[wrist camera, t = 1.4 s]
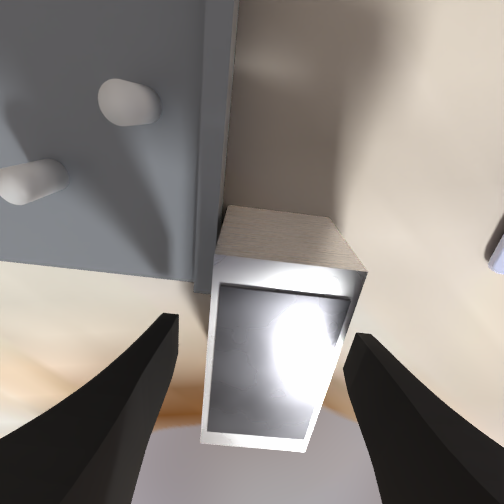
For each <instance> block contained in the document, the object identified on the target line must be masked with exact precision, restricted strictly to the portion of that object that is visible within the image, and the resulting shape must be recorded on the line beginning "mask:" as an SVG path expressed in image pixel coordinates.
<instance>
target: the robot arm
mask: <svg viewBox="0 0 504 504" xmlns="http://www.w3.org/2000/svg"><path fill="white" fill-rule="evenodd" d="M488 266H489V268H490V269H491V270H493V271H494V272H496V273H498V274H504V234H503V236H502V238H501V240H500V242H499V243H498V245H497V247H496V249H495V251H494V252H493V254H492V256H491V258H490V260H489V263H488ZM178 333H179V315H178V314H169V313H163V314H161V315H160V316H159V317H158V318H157V319H156V320H155V322H154V323H153V324H152V325H151V326H150V327H149V328H148V329H147V330H146V331H145V332H144V333H143V334H142V335H141V336H140V337H139V338H138V339H137V340H136V341H135V342H134V343H133V344H132V345H131V346H130V347H129V348H128V349H127V350H126V351H125V352H124V353H122V354H121V355H120V356H119V357H118V358H117V359H116V360H114V361H113V362H112V363H111V364H110V365H109V366H108V367H106V368H105V369H104V370H103V371H102V372H100V373H99V374H98V375H97V376H95V377H94V378H93V379H92V380H90V381H89V382H88V383H86V384H85V385H84V386H82V387H81V388H80V389H78V390H77V391H75V392H74V393H73V394H71V395H70V396H68V397H67V398H65V399H64V400H63V401H61V402H60V403H58V404H57V405H55V406H54V407H52V408H51V409H49V410H48V411H46V412H44V413H43V414H41V415H40V416H38V417H36V418H35V419H33V420H31V421H30V422H28V423H26V424H25V425H23V426H21V427H20V428H18V429H16V430H15V431H13V432H11V433H10V434H8V435H6V436H4V437H3V438H1V439H0V504H131V501H132V497H133V493H134V490H135V486H136V482H137V479H138V475H139V472H140V468H141V465H142V461H143V457H144V454H145V450H146V447H147V444H148V441H149V438H150V435H151V433H152V430H153V427H154V425H155V422H156V419H157V417H158V414H159V411H160V409H161V406H162V403H163V401H164V398H165V395H166V393H167V390H168V387H169V384H170V382H171V379H172V376H173V372H174V368H175V364H176V360H177V356H178ZM343 371H344V376H345V381H346V386H347V390H348V394H349V397H350V400H351V403H352V406H353V409H354V412H355V415H356V418H357V421H358V424H359V426H360V429H361V432H362V435H363V438H364V440H365V443H366V446H367V449H368V452H369V455H370V458H371V461H372V465H373V468H374V472H375V476H376V480H377V484H378V487H379V492H380V496H381V500H382V504H504V447H502V446H501V445H499V444H498V443H496V442H495V441H494V440H492V439H491V438H489V437H488V436H487V435H485V434H484V433H482V432H481V431H480V430H478V429H477V428H476V427H474V426H473V425H472V424H470V423H469V422H468V421H467V420H465V419H464V418H463V417H462V416H460V415H459V414H458V413H456V412H455V411H454V410H453V409H451V408H450V407H449V406H448V405H447V404H445V403H444V402H443V401H442V400H441V399H440V398H438V397H437V396H436V395H435V394H434V393H433V392H432V391H430V390H429V389H428V388H427V387H426V386H425V385H424V384H423V383H421V382H420V381H419V380H418V379H417V378H416V377H415V376H414V375H413V374H412V373H411V372H410V371H409V370H408V369H407V368H405V367H404V366H403V365H402V364H401V363H400V362H399V361H398V360H397V359H396V358H395V357H394V356H393V355H392V354H391V353H390V352H389V351H388V350H387V349H386V348H385V347H384V346H383V345H382V344H381V343H380V342H379V341H378V340H377V339H376V338H375V337H373V336H372V335H371V334H365V333H356V334H355V337H354V340H353V343H352V345H351V348H350V351H349V354H348V356H347V359H346V362H345V365H344V367H343Z"/></svg>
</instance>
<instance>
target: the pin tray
mask: <svg viewBox="0 0 504 504" xmlns="http://www.w3.org/2000/svg"><path fill="white" fill-rule="evenodd" d="M238 11H239V0H0V261H7V262H16V263H25V264H34V265H43V266H52V267H61V268H70V269H79V270H88V271H97V272H106V273H115V274H124V275H134V276H143V277H152V278H161V279H170V280H179V281H188V282H194V293H204V294H211V289H212V275H213V261H214V253H215V249H216V246H217V242H218V239H219V236H220V232H221V219H222V207H223V195H224V183H225V170H226V158H227V146H228V134H229V121H230V109H231V97H232V84H233V72H234V60H235V48H236V35H237V23H238Z"/></svg>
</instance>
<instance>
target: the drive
mask: <svg viewBox="0 0 504 504" xmlns="http://www.w3.org/2000/svg"><path fill="white" fill-rule="evenodd" d="M367 273H368V271H367V270H366V269H365V267H364V266H363V264H362V263H361V261H360V260H359V259H358V257H357V256H356V254H355V253H354V252H353V250H352V249H351V247H350V246H349V245H348V243H347V242H346V240H345V239H344V238H343V236H342V235H341V233H340V232H339V230H338V229H337V228H336V226H335V225H334V223H333V222H332V221H331V219H330V218H329V217H323V216H315V215H307V214H298V213H290V212H282V211H274V210H266V209H258V208H250V207H242V206H233V205H228V208H227V212H226V215H225V219H224V222H223V225H222V229H221V232H220V236H219V239H218V242H217V246H216V249H215V253H214V261H213V275H212V289H211V302H210V316H209V330H208V343H207V357H206V371H205V384H204V398H203V412H202V425H201V439H200V443H204V444H215V445H227V446H238V447H250V448H262V449H275V450H286V451H297V452H305V450H306V448H307V445H308V442H309V439H310V436H311V433H312V430H313V428H314V425H315V422H316V419H317V416H318V413H319V410H320V408H321V405H322V402H323V399H324V396H325V393H326V390H327V388H328V385H329V382H330V379H331V376H332V373H333V370H334V368H335V365H336V362H337V359H338V356H339V353H340V350H341V347H342V345H343V342H344V339H345V336H346V333H347V330H348V327H349V325H350V322H351V319H352V316H353V313H354V310H355V307H356V305H357V302H358V299H359V296H360V293H361V290H362V287H363V285H364V282H365V279H366V276H367Z"/></svg>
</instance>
